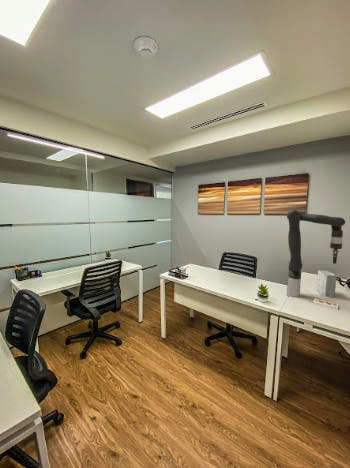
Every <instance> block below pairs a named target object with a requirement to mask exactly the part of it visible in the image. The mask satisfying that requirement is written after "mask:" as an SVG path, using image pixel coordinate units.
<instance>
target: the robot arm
mask: <svg viewBox="0 0 350 468" xmlns="http://www.w3.org/2000/svg"><path fill="white" fill-rule="evenodd" d="M286 219H287V220H288V226H289V229H288V235H287V236H288V237H287V238H288V239H287V242H288V243H287V244H288V248H289V249H288V250H289V254H290V260H289V262H288V279H287V280H288V282H287V284H286V296H287V297H288V298H291V297H292V298H300V296H301V282H302V269H303V264H302V256H301V255H302V254H301V253H302V238H301V237H302V236H301V235H302V234H301V229H300V227H301V226H300V224H301V223H300V222H301V221H302V222H303V221H304V222H308V223H314V224H319V225H326V226H327V225H329V226H331V234H330V235H331V236H330V241H329V242H330V243H329V248H330V249H332V251H331V252H332V264H337V260H338V256H339V251H340V250H342V248H343V236H344V231H343V230H342V227H343V226H344V225H345V224H346V220H345V219H344V218H343V217H341V216H340V217H339V216H338V217H337V216H328V215H325V214H312V213H306V212H305V213H304V212H301V211H299V210H295V209H290V210H289V211H288V212H286Z"/></svg>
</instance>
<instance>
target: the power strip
mask: <svg viewBox="0 0 350 468" xmlns="http://www.w3.org/2000/svg"><path fill="white" fill-rule="evenodd" d="M316 299H317V298H314V299H313V301H310V300H309V301H308V302H309V303H312V304H313V305H316V306H320V307H324V308H329V309H334V310H337V311H338V309H339V304H338V303H337V302H335V303H336V306H334V305H331V302H332V301H328V304H325V303H323V300H324V299H323V300H322V299H320V300H321V303H320V302H316Z"/></svg>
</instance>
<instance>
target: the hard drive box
mask: <svg viewBox="0 0 350 468" xmlns="http://www.w3.org/2000/svg"><path fill="white" fill-rule="evenodd" d="M337 277H338V276H337V275H335V274H334V273H332V272H330V271H328V270H318V271H317V282H316V283H317V285H316V291H317V293H318V294H320V295H321V296H323V297H328V298H332V299H335V298H336V285H337Z"/></svg>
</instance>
